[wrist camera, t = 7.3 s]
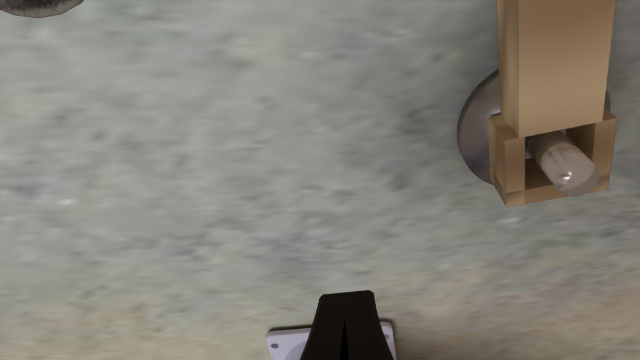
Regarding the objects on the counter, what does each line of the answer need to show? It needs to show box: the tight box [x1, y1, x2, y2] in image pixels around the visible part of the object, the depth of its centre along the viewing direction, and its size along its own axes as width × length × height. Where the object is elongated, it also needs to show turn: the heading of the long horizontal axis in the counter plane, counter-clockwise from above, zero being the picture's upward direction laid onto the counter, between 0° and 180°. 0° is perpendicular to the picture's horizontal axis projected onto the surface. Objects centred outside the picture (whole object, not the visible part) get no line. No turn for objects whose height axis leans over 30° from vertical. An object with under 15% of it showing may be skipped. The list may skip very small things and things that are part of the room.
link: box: [487, 0, 618, 207], centre depth 14 cm, size 11×4×2 cm, turn 15°
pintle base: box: [457, 70, 610, 196], centre depth 16 cm, size 6×6×4 cm
